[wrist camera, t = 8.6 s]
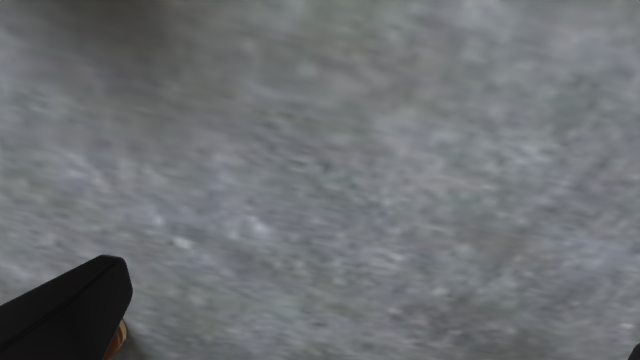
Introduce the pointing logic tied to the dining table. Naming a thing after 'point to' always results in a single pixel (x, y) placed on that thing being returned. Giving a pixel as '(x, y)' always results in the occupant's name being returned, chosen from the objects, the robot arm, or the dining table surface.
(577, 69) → the dining table surface
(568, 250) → the dining table surface
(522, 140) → the dining table surface
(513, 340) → the dining table surface
